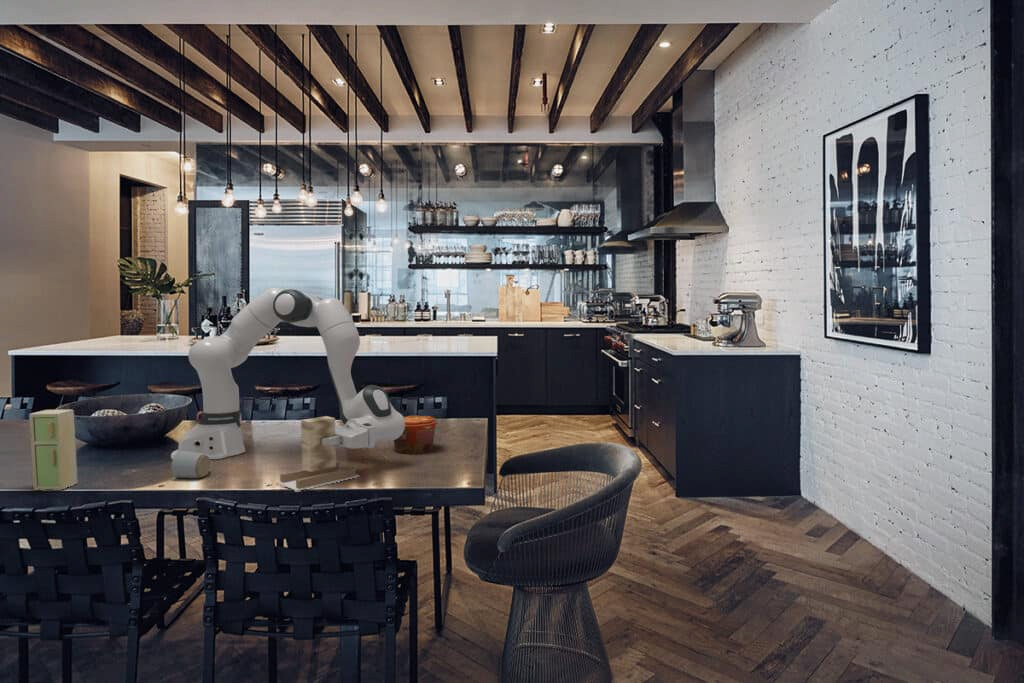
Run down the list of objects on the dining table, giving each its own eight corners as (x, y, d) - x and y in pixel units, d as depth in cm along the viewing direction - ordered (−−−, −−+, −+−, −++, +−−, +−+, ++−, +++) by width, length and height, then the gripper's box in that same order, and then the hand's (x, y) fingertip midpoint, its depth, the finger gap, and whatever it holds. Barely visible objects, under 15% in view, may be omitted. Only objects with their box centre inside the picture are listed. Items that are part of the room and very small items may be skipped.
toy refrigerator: (30, 491, 177) (26, 413, 176) (49, 484, 184) (46, 409, 183) (60, 491, 177) (56, 413, 176) (78, 484, 184) (75, 409, 183)
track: (296, 492, 177) (296, 481, 177) (276, 484, 184) (276, 474, 184) (359, 477, 192) (359, 467, 191) (338, 470, 199) (338, 461, 199)
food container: (410, 443, 238) (410, 413, 237) (446, 448, 230) (446, 417, 229) (380, 451, 224) (379, 420, 224) (417, 457, 216) (417, 425, 216)
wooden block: (310, 471, 183) (309, 421, 182) (302, 469, 186) (301, 420, 185) (336, 466, 189) (334, 418, 188) (327, 463, 192) (326, 416, 191)
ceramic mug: (198, 481, 187) (197, 454, 187) (170, 480, 188) (170, 453, 188) (218, 472, 198) (217, 447, 197) (192, 471, 198) (191, 446, 198)
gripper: (337, 418, 204) (296, 424, 193) (377, 426, 190) (335, 434, 180) (337, 438, 204) (297, 446, 194) (377, 448, 190) (336, 457, 180)
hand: (315, 440), depth 187 cm, fingers closed on wooden block, 4 cm apart
